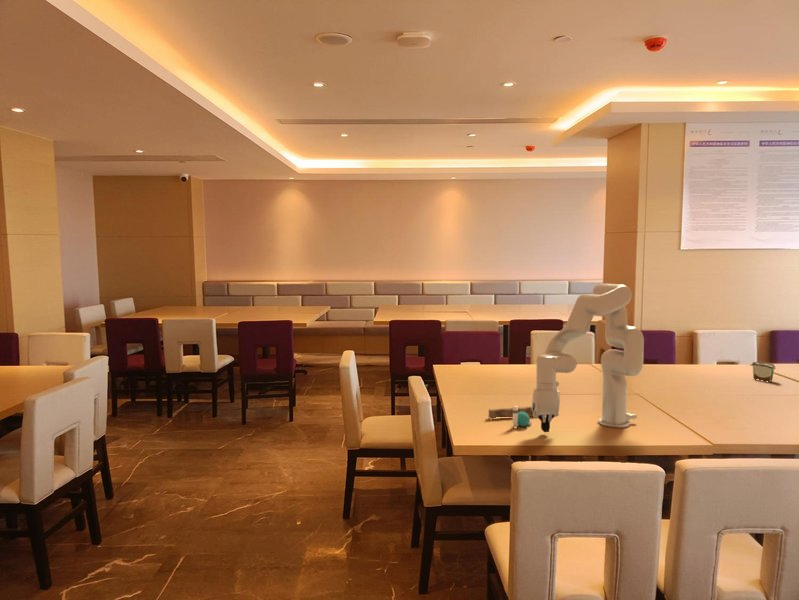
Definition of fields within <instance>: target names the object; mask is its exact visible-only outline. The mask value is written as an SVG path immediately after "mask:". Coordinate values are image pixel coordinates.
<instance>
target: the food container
mask: <svg viewBox="0 0 799 600" xmlns="http://www.w3.org/2000/svg"><path fill="white" fill-rule="evenodd" d="M751 366H752V372H753V373H752V375H753V376H752V377H753V378H754V379H759V380H763V381H768V382H772V383H773V378H774V377H773V376H774V370H776V365H775V364H773V363H770V362H763V361H752V363H751ZM754 379H753V380H754Z"/></svg>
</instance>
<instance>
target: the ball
mask: <svg viewBox="0 0 799 600" xmlns="http://www.w3.org/2000/svg"><path fill="white" fill-rule="evenodd" d="M529 420H530V417H529V416H528V414H527V413H525V412H519V413H518V427H526V426H527V425H528V423H529Z"/></svg>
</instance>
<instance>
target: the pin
mask: <svg viewBox="0 0 799 600" xmlns="http://www.w3.org/2000/svg"><path fill="white" fill-rule="evenodd" d="M518 407H519V406H518V405H513V406H512V408H513V418H512V428H513V427H518V428H519V425H518Z"/></svg>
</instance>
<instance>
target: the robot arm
mask: <svg viewBox="0 0 799 600" xmlns="http://www.w3.org/2000/svg"><path fill="white" fill-rule="evenodd" d="M632 297H633V293H632V290H631V288H630V287H629V286H627V285H625V284H616V283H598V284H596V285H595V286H593V288H592V293H590V294H589V293H584V294H581V295H579V296H578V297H577V299H576V300H575V303H574V304H573V308H572V310H571V313H570V315H569V317H568V319H567V322H566V323H565V325H564V327H563V328H562V329H561V330H559V331H558V332H557V333H556V334H555V335H554V336H553V337H552V338H551V339H550V341H549V343H548V344H547V347H546V350H545V352H544V354H543V353H542V354H539V355H538V356H536V373H535V374H536V380H535V381H536V382H535V383H536V384H535V385H536V387H535V388H534V389H533V393H532V399H531V407H532V412H533V418H535V419H539V421H540V428H541V431H543V432H544V433H549V432H550V427H551V422H552V420H553V419H554V418H556V417H558V416H559V415H560V414H559V412H560V406H559V397H558V391H559V390H558V389H556V386H557V387H558V386H559V385H560V382H558V381H557V374H558V373H559V374H570V373H573V372H574V371H575V370H576V368H577V365H578V363H577V358H575V357H574V356H572V354H571V355H570V354H567V353H564V352H563V350H564V348H565V347H566V346H567V345H568V344H569V343H570V342H573V341H574V340H578V339H579V338H582V337H585V336H586V335H587V333H588V330H589V327H590V326H591V323H592V320H593V318H594V316H595V317H605V329H604V330H605V331H604V332H605V336H604V337H605V342H606V344H607V345H609V346H611V347H615V348H619V349H623V350H619V349H611V348H610V349H607V350H605V351H604V352H603V353H602V354H601V356H600V357H601V358H600V366H601V371H602V406H601V407H602V408H601V414H602V415H601V417H600V418H597V419H598V420H597V422H598V424H600V425H602V426H604V427H610V428H616V429H617V428H618V429H619V428H620V429H621V428H622V429H623V428H628V427H630V426H631V421H630V420H636V419H637V418H638V416H637V414H636V413H633V414H632V413H630V412H628V413H627V406H628V405H627V403H628V401H627V400H628V399H627V397H628V393H627V392H628V382H627V381H628V380H627V377H637V376H639V375H640V374H641V372H642V370H643V368H644V356H645V355H644V351H645V350H644V349H645V347H644V346H645V338H644V334H643V332H642V331H641V329H640V328H639V327H636V326H632V325H628V311H627V310H628V309H627V308H626V306H627V305H628V304H629V303H630V302H631V300H632ZM626 376H627V377H626ZM556 381H557V382H556ZM557 390H558V391H557Z"/></svg>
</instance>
